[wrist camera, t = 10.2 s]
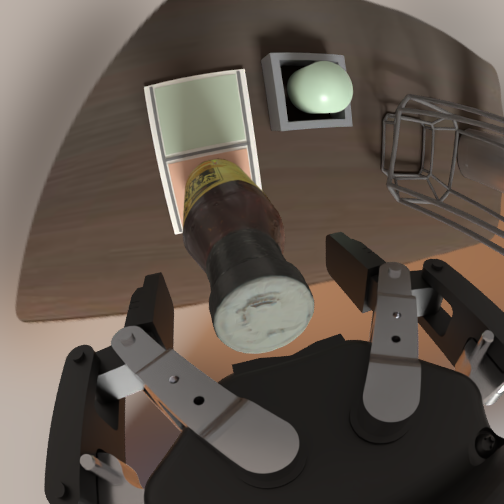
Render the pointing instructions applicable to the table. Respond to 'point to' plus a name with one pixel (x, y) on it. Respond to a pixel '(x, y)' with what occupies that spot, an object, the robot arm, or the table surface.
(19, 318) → the table surface
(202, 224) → the sauce bottle
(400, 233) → the table surface
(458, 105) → the geometric lantern
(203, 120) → the colouring card
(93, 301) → the table surface
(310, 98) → the button
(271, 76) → the button housing
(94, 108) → the table surface
